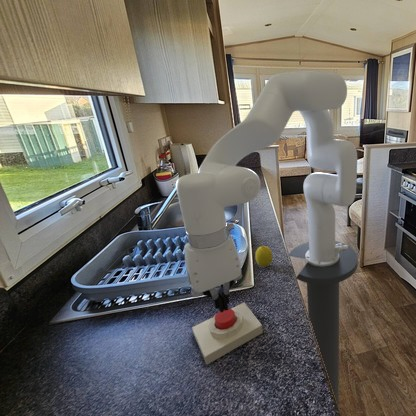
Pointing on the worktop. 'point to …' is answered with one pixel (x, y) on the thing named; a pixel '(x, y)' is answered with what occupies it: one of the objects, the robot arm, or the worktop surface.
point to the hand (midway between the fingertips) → (222, 307)
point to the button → (225, 319)
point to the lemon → (263, 256)
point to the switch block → (226, 334)
